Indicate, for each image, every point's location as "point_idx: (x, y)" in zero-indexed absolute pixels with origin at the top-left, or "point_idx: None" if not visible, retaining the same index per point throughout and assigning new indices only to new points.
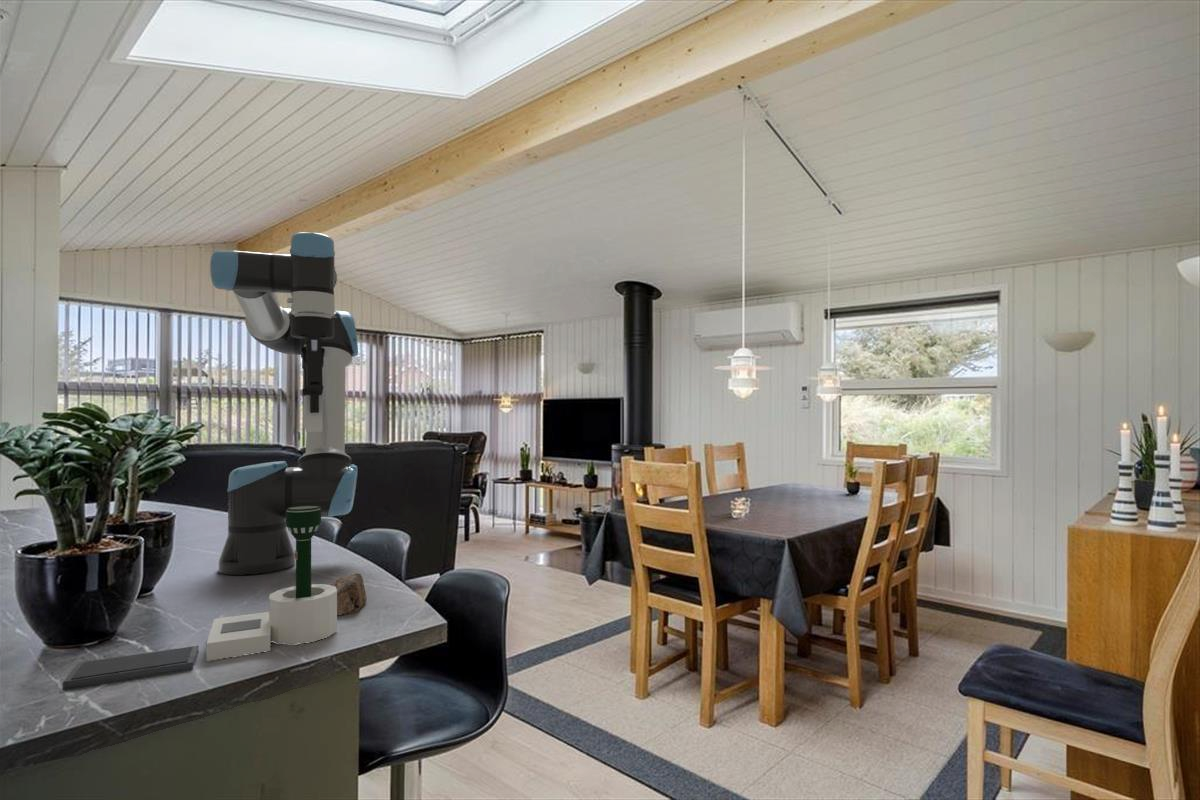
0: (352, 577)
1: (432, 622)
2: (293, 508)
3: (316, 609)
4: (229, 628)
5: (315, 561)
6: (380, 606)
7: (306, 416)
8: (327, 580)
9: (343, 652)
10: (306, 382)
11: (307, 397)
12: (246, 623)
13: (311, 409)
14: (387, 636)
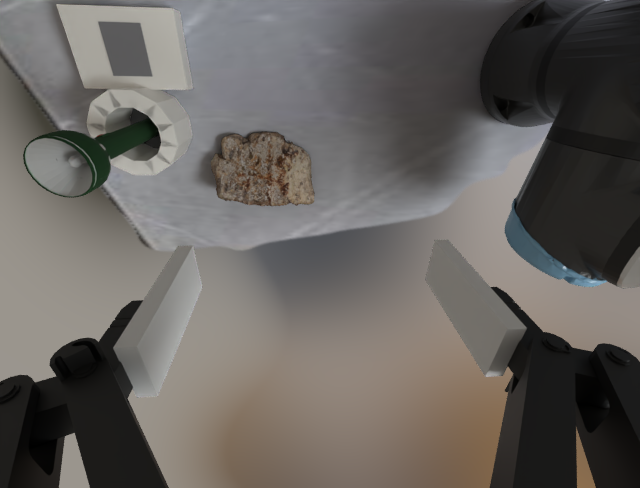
0: (247, 196)
1: (162, 247)
2: (80, 149)
3: None
4: (115, 33)
5: (506, 153)
6: (236, 210)
7: (158, 279)
8: (384, 163)
9: None
10: (520, 409)
11: (122, 342)
12: (135, 56)
13: (122, 313)
14: (126, 206)
